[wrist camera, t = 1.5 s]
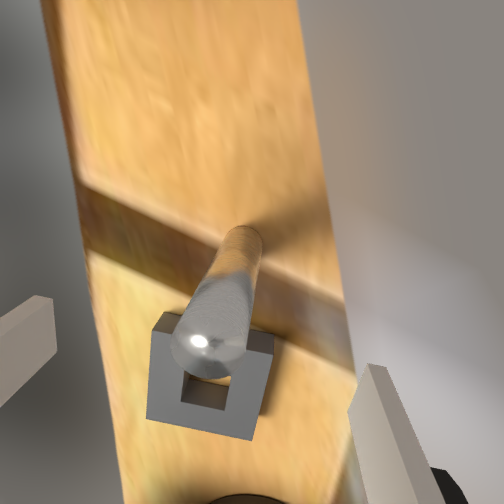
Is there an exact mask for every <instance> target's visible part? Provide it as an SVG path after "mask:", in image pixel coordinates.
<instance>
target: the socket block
mask: <svg viewBox="0 0 504 504" xmlns="http://www.w3.org/2000/svg"><path fill="white" fill-rule="evenodd" d="M181 317H182V316H180V315H175V314H170V313H165V312H164V313H163V314H162V316H161V317H160V319H159V320H158V322H157V323H156V325H155V326H154V328H153V329H152V335H151V350H150V365H149V381H148V396H147V411H146V419H149V420H153V421H158V422H163V423H168V424H172V425H177V426H182V427H187V428H191V429H196V430H201V431H206V432H211V433H215V434H220V435H225V436H230V437H234V438H239V439H244V440H249V441H252V439H253V435H254V431H255V427H256V423H257V419H258V415H259V411H260V407H261V403H262V399H263V395H264V391H265V387H266V383H267V379H268V375H269V371H270V367H271V363H272V359H273V355H274V334H269V333H264V332H259V331H254V330H249V333H248V339H247V345H246V351H245V357H244V360H243V363H242V365H241V366H240V367H239V369H238V370H237V371H235V372H234V373H233V374H231V375H229V376H231V380H230V385H229V387H226V386H221V385H216V384H211V383H206V382H201V381H196V380H192V379H189V375H190V373H188V372H187V371H185V370H184V369H182V368H181V367H180V366H179V365H178V363H177V362H176V361H175V359H174V358H173V355H172V353H171V349H170V340H171V336H172V333H173V331H174V330H175V328H176V326H177V324H178V322H179V321H180V319H181Z"/></svg>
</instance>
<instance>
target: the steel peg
mask: <svg viewBox="0 0 504 504" xmlns="http://www.w3.org/2000/svg"><path fill="white" fill-rule="evenodd" d="M262 247H263V244H262V239H261V237H260V235H259V234H258V233H257V232H256V231H255V230H254V229H252V228H250V227H246V226H238V227H235V228H233V229H231V230H230V231H229V232H228V233H227V235H226V236H225V238H224V240H223V242H222V244H221V246H220V247H219V249H218V251H217V253H216V255H215V257H214V258H213V260H212V262H211V264H210V266H209V268H208V269H207V271H206V273H205V275H204V277H203V278H202V280H201V282H200V284H199V286H198V288H197V289H196V291H195V293H194V295H193V297H192V299H191V300H190V302H189V304H188V306H187V308H186V310H185V311H184V313H183V315H182V317H181V319H180V321H179V322H178V324H177V326H176V328H175V330H174V331H173V333H172V336H171V340H170V349H171V353H172V355H173V358H174V359H175V361H176V362H177V363H178V365H179V366H180V367H181V368H182V369H184V370H185V371H187V372H188V373H190V374H192V375H194V376H197V377H200V378H204V379H220V378H224V377H227V376H229V375H231V374H233V373H234V372H235V371H237V370H238V369H239V367H240V366H241V365H242V363H243V360H244V357H245V351H246V345H247V339H248V333H249V327H250V320H251V314H252V308H253V302H254V296H255V290H256V284H257V278H258V272H259V265H260V259H261V253H262Z"/></svg>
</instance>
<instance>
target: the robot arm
mask: <svg viewBox="0 0 504 504" xmlns="http://www.w3.org/2000/svg"><path fill="white" fill-rule="evenodd" d="M56 352H57V344H56V332H55V321H54V309H53V300H52V299H50V298H45V297H41V296H36V295H34V296H33V297H31V298H30V299H28V300H27V301H25V302H24V303H22V304H21V305H19V306H18V307H16V308H15V309H13V310H12V311H10V312H9V313H7V314H6V315H4V316H3V317H1V318H0V407H1V406H2V405H3V404H4V403H5V402H6V401H7V400H8V399H9V398H10V397H11V396H12V395H13V394H14V393H15V392H16V391H17V390H18V389H19V388H20V387H21V386H23V385H24V383H25V382H27V381H28V380H29V379H30V377H32V376H33V375H34V374H35V373H36V372H37V371H38V370H39V369H40V368H41V367H42V366H43V365H44V364H45V363H46V362H47V361H48V360H49V359H50V358H51V357H52V356H53V355H54V354H55V353H56ZM348 417H349V421H350V425H351V430H352V434H353V438H354V443H355V447H356V451H357V456H358V460H359V464H360V469H361V473H362V477H363V482H364V486H365V490H366V495H367V499H368V503H369V504H468V502H467V500H466V498H465V496H464V494H463V492H462V490H461V489H460V487H459V486H458V485H457V484H456V482H455V481H454V480H453V479H452V477H451V476H450V475H449V474H448V472H447V471H446V470H442V469H437V468H432V467H430V466H429V464H428V462H427V460H426V457H425V455H424V453H423V450H422V448H421V446H420V444H419V441H418V439H417V437H416V434H415V432H414V430H413V428H412V425H411V423H410V421H409V418H408V416H407V414H406V412H405V409H404V407H403V405H402V402H401V400H400V398H399V396H398V393H397V391H396V389H395V386H394V384H393V382H392V380H391V377H390V375H389V373H388V370H387V368H386V367H383V366H378V365H373V364H368V363H367V365H366V368H365V370H364V373H363V375H362V377H361V380H360V382H359V385H358V387H357V390H356V392H355V394H354V397H353V399H352V402H351V404H350V407H349V409H348ZM210 504H282V503H280V502H277V501H275V500H272V499H268V498H264V497H259V496H251V495H237V496H229V497H225V498H221V499H219V500H216V501H214V502H212V503H210Z"/></svg>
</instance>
